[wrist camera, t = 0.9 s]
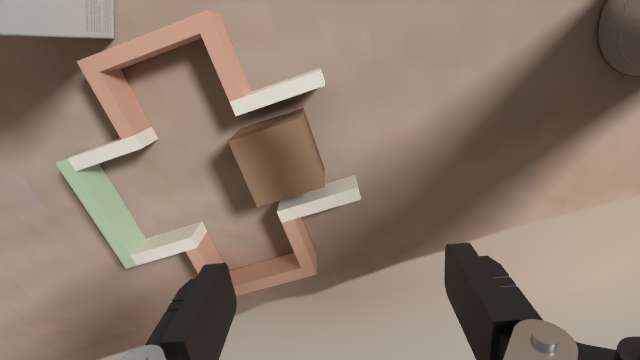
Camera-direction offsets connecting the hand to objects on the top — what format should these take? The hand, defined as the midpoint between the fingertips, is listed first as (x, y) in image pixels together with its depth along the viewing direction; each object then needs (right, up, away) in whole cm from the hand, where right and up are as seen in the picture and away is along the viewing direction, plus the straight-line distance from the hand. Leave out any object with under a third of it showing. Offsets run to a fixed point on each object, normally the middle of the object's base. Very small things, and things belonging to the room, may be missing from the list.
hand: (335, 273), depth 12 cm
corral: (-10, +4, +19) cm, 22 cm away
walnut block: (-4, +6, +19) cm, 20 cm away
